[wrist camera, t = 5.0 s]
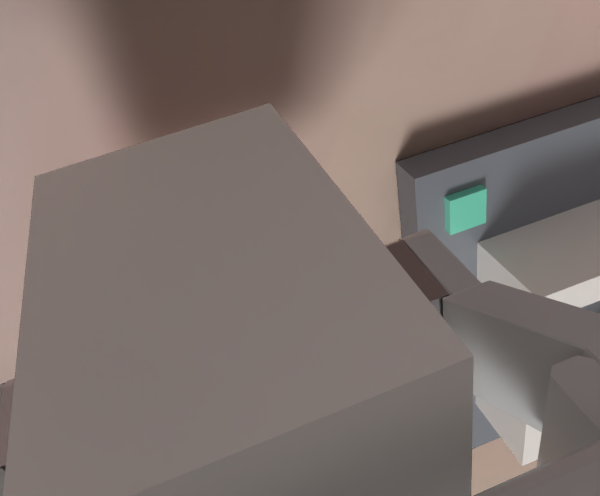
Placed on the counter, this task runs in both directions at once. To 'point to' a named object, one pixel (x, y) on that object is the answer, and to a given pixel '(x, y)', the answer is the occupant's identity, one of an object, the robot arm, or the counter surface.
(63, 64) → the counter surface
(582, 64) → the counter surface
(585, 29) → the counter surface
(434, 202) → the dock
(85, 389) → the block
